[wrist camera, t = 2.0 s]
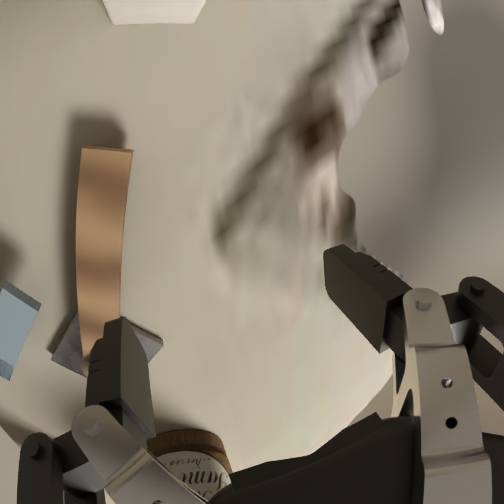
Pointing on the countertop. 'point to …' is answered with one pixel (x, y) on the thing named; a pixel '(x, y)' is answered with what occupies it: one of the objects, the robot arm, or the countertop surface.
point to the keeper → (14, 325)
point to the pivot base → (71, 349)
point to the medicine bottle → (153, 11)
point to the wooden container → (193, 459)
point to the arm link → (100, 239)
